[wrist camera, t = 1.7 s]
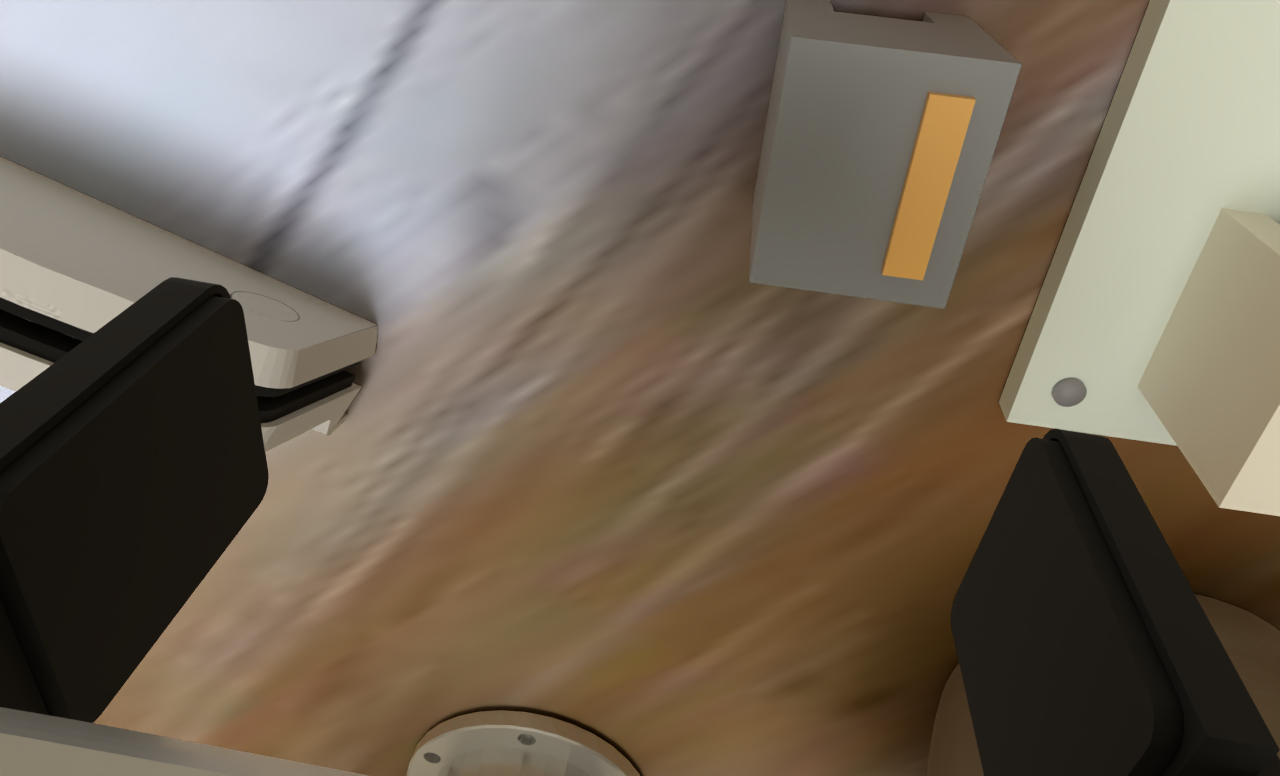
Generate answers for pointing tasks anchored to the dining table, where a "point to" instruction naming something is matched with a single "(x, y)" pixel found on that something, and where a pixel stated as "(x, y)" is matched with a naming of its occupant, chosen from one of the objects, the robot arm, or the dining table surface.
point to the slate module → (875, 152)
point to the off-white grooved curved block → (131, 267)
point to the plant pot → (1259, 652)
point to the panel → (1151, 211)
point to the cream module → (1226, 365)
